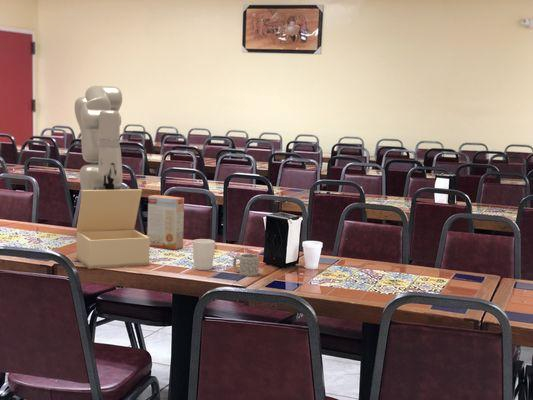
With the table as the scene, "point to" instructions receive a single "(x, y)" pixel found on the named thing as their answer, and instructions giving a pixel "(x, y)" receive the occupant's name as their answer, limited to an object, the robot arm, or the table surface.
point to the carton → (112, 248)
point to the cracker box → (165, 221)
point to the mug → (247, 264)
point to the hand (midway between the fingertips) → (108, 193)
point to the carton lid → (108, 209)
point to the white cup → (203, 254)
